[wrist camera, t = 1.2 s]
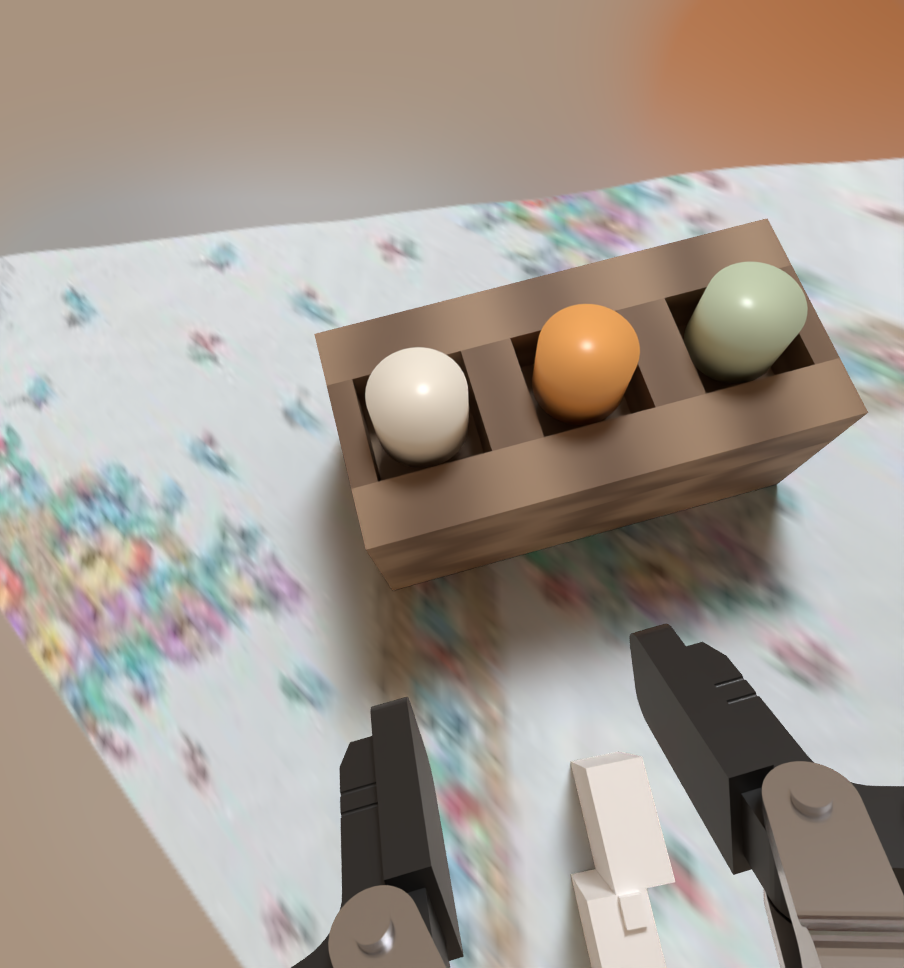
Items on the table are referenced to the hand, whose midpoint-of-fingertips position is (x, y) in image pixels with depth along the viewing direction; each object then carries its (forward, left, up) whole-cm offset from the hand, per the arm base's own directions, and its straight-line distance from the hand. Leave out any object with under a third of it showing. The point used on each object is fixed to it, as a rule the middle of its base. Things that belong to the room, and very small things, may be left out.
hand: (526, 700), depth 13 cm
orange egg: (-7, -12, -13) cm, 19 cm away
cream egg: (0, -12, -13) cm, 18 cm away
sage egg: (-14, -12, -13) cm, 23 cm away
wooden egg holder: (-7, -12, -21) cm, 25 cm away
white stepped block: (-3, +9, -22) cm, 24 cm away
